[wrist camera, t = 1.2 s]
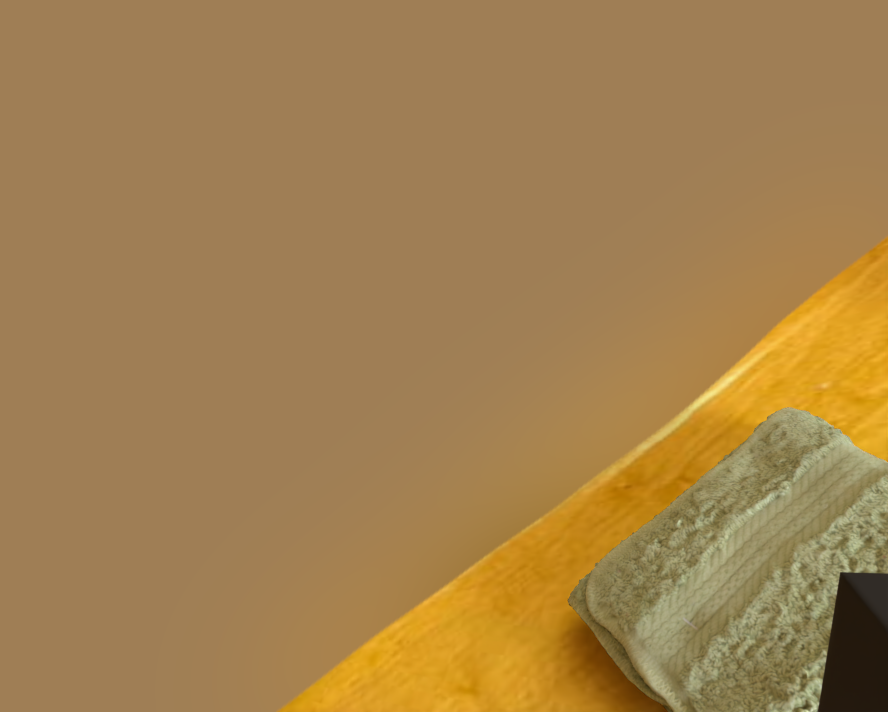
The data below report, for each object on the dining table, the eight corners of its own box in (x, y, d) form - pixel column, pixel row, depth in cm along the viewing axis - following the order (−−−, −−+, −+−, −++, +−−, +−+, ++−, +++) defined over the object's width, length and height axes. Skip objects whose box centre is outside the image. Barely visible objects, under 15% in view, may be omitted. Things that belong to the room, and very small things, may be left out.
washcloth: (561, 615, 40) (543, 581, 38) (789, 423, 44) (782, 384, 42) (758, 827, 30) (746, 793, 28) (1036, 551, 33) (1041, 506, 32)
